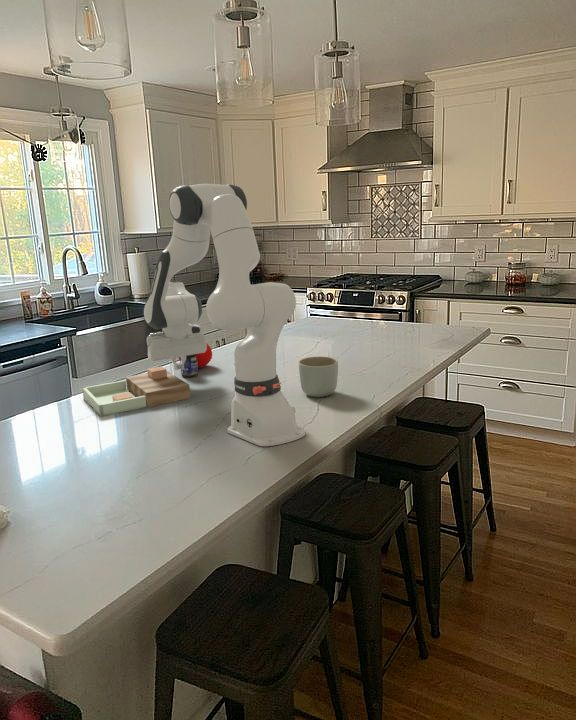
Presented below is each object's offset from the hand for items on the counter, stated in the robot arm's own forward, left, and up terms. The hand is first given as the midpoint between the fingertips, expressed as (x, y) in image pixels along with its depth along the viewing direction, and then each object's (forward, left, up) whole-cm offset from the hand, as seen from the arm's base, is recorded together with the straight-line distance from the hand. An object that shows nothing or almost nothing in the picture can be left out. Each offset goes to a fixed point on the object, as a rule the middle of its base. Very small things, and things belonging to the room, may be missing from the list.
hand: (179, 369), depth 203 cm
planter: (-38, -32, -6) cm, 50 cm away
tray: (-5, +24, -6) cm, 26 cm away
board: (-5, +10, -6) cm, 12 cm away
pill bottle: (+9, -7, -6) cm, 13 cm away
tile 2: (0, +8, -1) cm, 8 cm away
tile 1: (-10, +23, -3) cm, 25 cm away
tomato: (+18, -13, -6) cm, 23 cm away
